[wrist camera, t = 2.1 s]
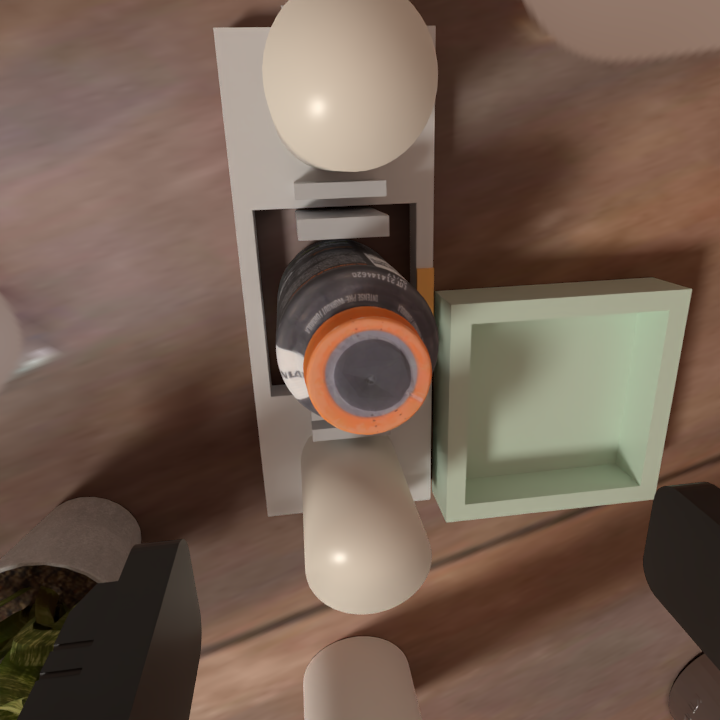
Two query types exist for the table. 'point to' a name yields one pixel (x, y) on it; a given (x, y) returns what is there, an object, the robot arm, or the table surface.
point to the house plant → (54, 585)
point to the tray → (553, 394)
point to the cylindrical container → (360, 682)
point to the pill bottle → (354, 337)
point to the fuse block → (329, 189)
